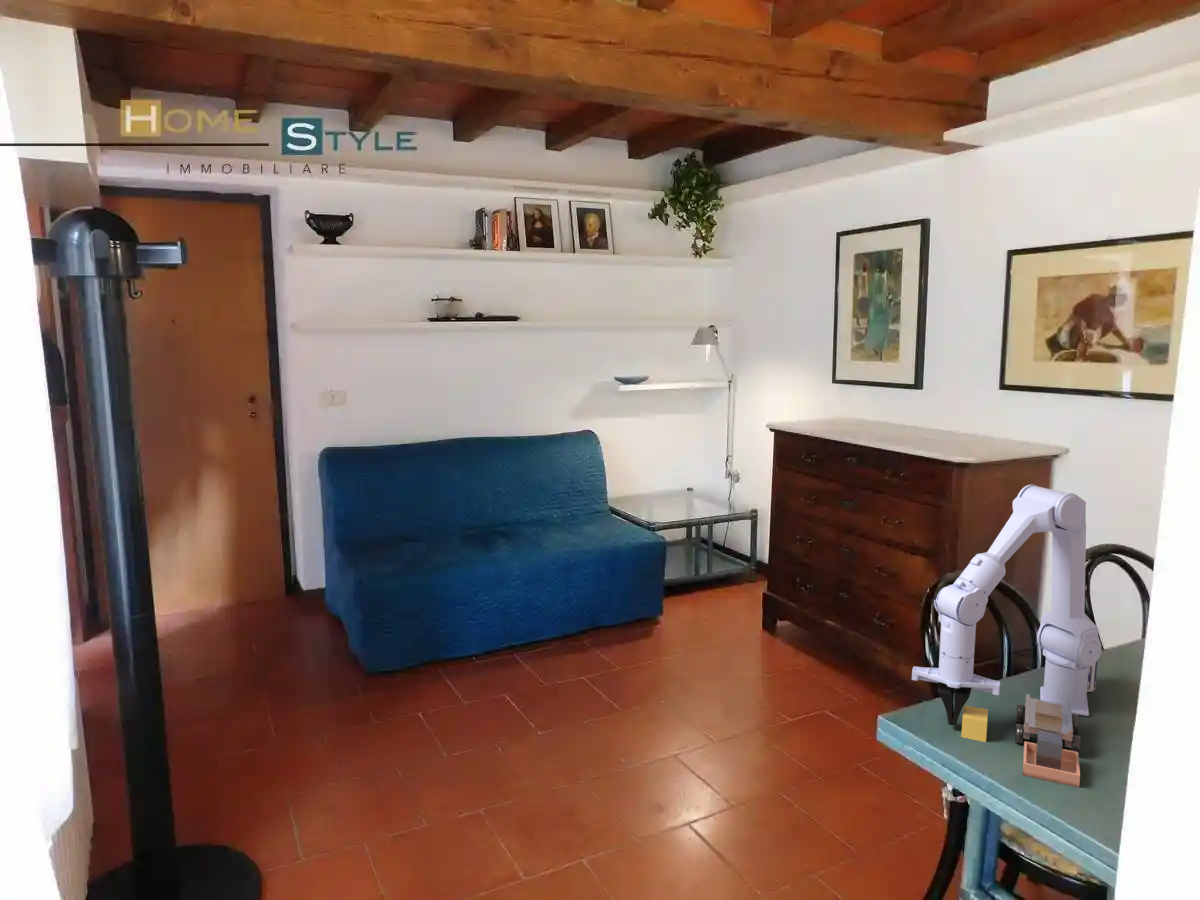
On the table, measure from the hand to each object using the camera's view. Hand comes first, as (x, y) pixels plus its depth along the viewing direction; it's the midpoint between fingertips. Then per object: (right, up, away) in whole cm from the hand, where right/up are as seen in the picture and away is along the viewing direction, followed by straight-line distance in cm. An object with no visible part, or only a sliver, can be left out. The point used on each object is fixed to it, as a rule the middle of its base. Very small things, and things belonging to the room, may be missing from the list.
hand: (952, 723), depth 148 cm
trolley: (+15, -1, -3) cm, 16 cm away
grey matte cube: (+10, -3, -13) cm, 17 cm away
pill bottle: (+33, +2, +16) cm, 36 cm away
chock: (+3, -1, -2) cm, 4 cm away
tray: (+10, -3, -14) cm, 17 cm away
